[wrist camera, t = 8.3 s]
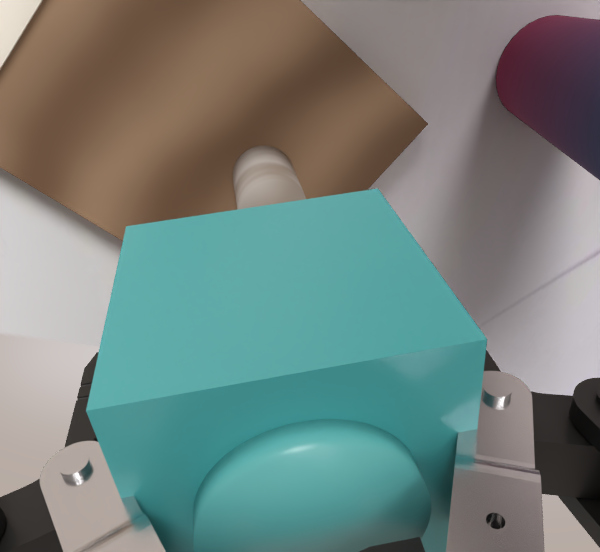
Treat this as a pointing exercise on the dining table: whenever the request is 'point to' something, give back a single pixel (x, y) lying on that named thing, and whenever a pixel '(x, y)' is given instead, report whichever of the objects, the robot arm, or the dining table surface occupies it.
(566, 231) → the dining table surface
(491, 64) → the dining table surface
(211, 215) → the teal stud brick
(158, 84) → the board
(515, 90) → the cup
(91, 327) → the dining table surface
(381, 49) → the dining table surface
